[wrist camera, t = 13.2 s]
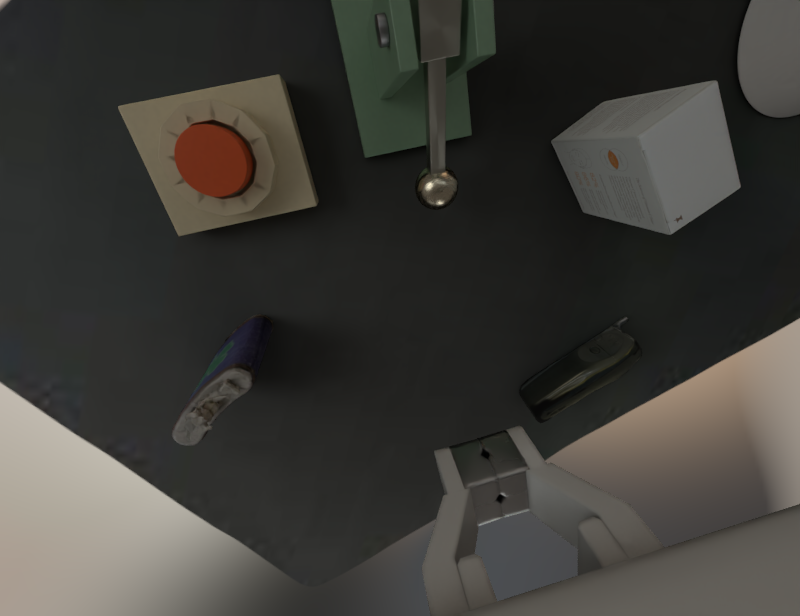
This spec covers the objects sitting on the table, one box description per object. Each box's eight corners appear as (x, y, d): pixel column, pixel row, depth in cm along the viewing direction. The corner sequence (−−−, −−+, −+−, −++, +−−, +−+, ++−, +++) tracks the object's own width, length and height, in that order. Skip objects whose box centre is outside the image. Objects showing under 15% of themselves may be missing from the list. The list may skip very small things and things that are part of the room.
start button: (238, 119, 24) (231, 117, 22) (262, 186, 26) (256, 189, 24) (173, 132, 23) (161, 131, 22) (201, 199, 25) (192, 203, 24)
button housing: (285, 80, 27) (274, 68, 23) (319, 201, 30) (315, 209, 26) (137, 110, 26) (100, 103, 22) (191, 229, 30) (167, 242, 26)
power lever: (450, 189, 29) (462, 213, 27) (412, 197, 28) (422, 222, 27) (454, -28, 18) (476, -14, 16) (394, -17, 18) (409, -1, 16)
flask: (224, 385, 36) (182, 470, 27) (198, 370, 35) (144, 454, 26) (280, 324, 35) (256, 391, 25) (254, 306, 34) (218, 370, 24)
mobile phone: (544, 430, 39) (665, 350, 37) (531, 415, 38) (655, 332, 35) (524, 400, 44) (630, 327, 41) (512, 386, 43) (621, 310, 40)
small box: (631, 178, 34) (744, 189, 24) (580, 213, 35) (671, 238, 25) (603, 98, 31) (721, 76, 21) (548, 140, 31) (638, 136, 22)
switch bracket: (467, 135, 30) (535, 128, 19) (364, 157, 30) (377, 162, 19) (449, -50, 25) (529, -197, 14) (324, -27, 24) (311, -162, 14)
